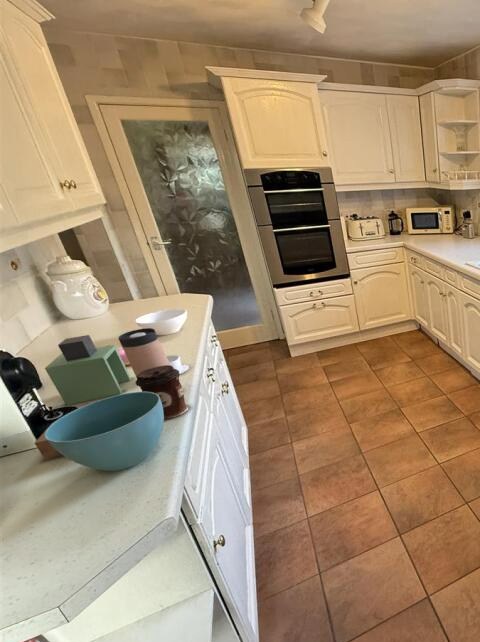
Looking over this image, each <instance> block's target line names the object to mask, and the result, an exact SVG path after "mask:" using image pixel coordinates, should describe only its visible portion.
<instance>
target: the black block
mask: <svg viewBox="0 0 480 642" xmlns="http://www.w3.org/2000/svg"><path fill="white" fill-rule="evenodd" d="M57 346H58V348H59V350H60V352H61V354H63V355H64V357H65V359H66V361H70V360H75V359H81V358H87V357H91V356H92V355H93V354H94V353H95V352H96V351H97V349H96V348H97V347H96V345H95V344H94V342H93V339H92V338H91V335H90V334H86V335H80V336H74V337H67V338H64V340H62V341H61V342H59V344H58V345H57Z"/></svg>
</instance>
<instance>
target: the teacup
mask: <svg viewBox="0 0 480 642" xmlns="http://www.w3.org/2000/svg"><path fill="white" fill-rule="evenodd" d="M166 357H167V359H168V361H169V364H170V366H173V368H174V369H176V370H178V371H179V375H181V374H183V373H185V372H186V371H188V370H189V369H190V367H189V365H188V364H182V362H181V357H180V355H177V354H171V355H170V354H169V355H166Z"/></svg>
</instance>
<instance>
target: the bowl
mask: <svg viewBox="0 0 480 642" xmlns="http://www.w3.org/2000/svg"><path fill="white" fill-rule="evenodd" d="M187 318H188V312H187V310H186V309H183V308H172V309H163V310H158V311H154V312H151V313H148V314H144V315H142V316H140V317H138V318H136V319H135V324H136V325H137V326H138V327H139V328H140V329H145V328H152V329H154V330H155V332H156V334H157V336H167V335H171V334H175V333H177V332H179V331H180V330H181V328H182V326H183V325H184V323H185V322H186V320H187Z"/></svg>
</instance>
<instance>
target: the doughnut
mask: <svg viewBox="0 0 480 642" xmlns="http://www.w3.org/2000/svg"><path fill="white" fill-rule="evenodd" d="M117 350H118V352H119V354H120V356H121V359H122V361H123V363H124V365H125V366H131V365H130V363H129V360H128V358H127V356H126V354H125V352H124V349H123V348H121V349H117Z"/></svg>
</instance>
